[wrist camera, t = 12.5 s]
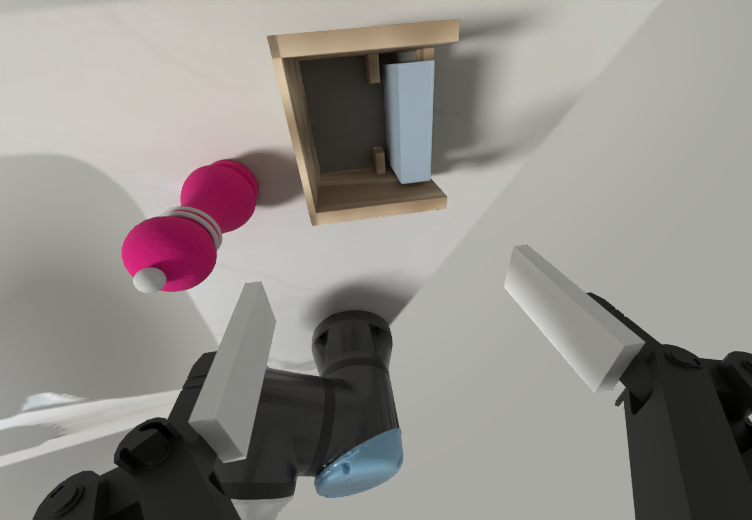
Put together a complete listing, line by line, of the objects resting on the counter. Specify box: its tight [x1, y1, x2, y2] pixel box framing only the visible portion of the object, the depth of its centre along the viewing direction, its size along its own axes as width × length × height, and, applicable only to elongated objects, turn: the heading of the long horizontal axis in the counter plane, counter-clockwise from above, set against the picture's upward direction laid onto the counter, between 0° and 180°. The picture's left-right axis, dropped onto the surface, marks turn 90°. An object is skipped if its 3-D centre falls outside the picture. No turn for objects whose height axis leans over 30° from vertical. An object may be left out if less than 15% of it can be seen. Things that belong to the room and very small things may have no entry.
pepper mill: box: [122, 160, 258, 293], centre depth 27 cm, size 7×7×20 cm
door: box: [382, 60, 435, 184], centre depth 29 cm, size 10×4×9 cm, turn 5°
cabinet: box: [267, 19, 460, 226], centre depth 28 cm, size 15×14×12 cm
